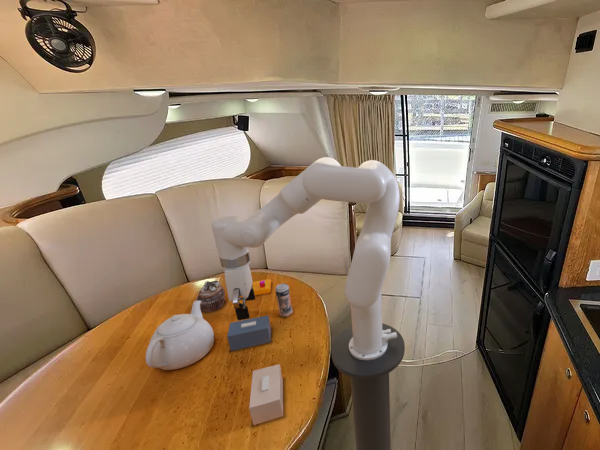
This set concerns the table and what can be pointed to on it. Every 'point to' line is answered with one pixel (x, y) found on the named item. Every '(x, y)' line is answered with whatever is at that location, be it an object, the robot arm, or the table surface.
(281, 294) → the beer can
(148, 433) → the table surface
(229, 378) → the table surface
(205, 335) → the teapot
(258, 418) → the front tissue box
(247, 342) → the back tissue box
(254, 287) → the orange square block
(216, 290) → the cupcake
